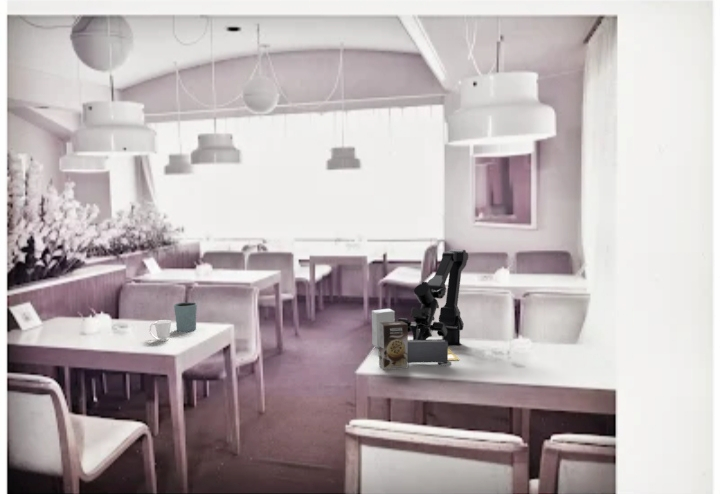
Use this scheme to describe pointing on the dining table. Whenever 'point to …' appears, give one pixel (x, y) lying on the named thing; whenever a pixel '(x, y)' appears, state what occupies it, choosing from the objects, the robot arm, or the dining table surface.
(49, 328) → the dining table surface
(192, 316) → the teal tapered pot
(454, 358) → the left label plate
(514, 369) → the dining table surface
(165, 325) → the cup
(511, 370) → the dining table surface
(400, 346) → the cookie box
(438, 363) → the flange
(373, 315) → the skincare box
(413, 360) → the gray rectangular panel
